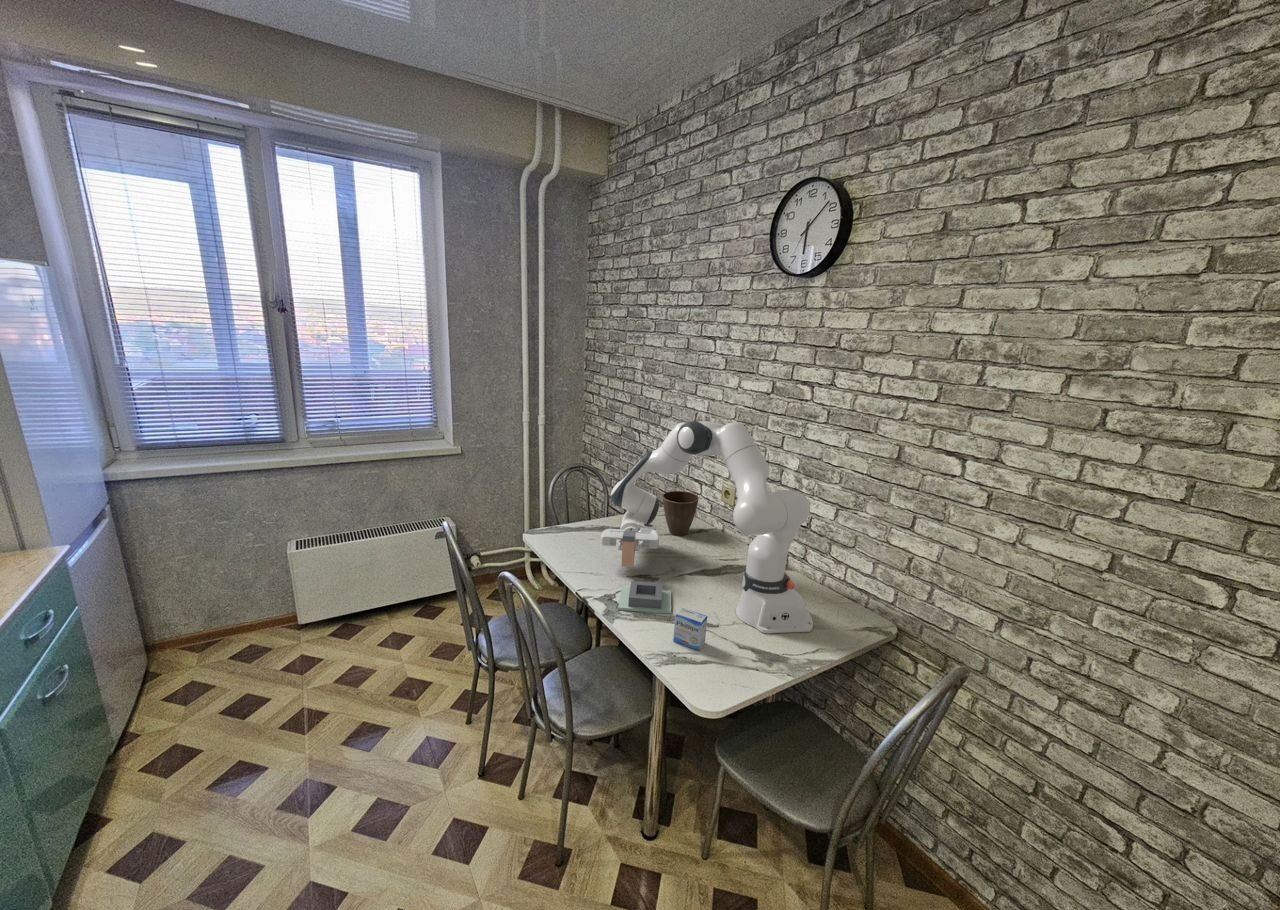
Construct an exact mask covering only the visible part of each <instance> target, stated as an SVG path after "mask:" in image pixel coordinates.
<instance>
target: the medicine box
mask: <svg viewBox="0 0 1280 910" xmlns="http://www.w3.org/2000/svg"><path fill="white" fill-rule="evenodd" d="M707 623H708V615H705V614H703V613H700V612H697V611H694V610H691V609H688V608H684V607H682V606H681V607H680V608H679V609H678V610H677V612H676V613H675V616H674V628H673V636H672V637H673V638H672V641H673V642H674V643H676V644H679V645H682V646H685V647H688V648H691V649H693V650H696V651H700V650H701V649H702V647H703V646H704V644H705V643H706V635H707V634H706V633H707V627H708V626H707Z"/></svg>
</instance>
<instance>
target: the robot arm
mask: <svg viewBox="0 0 1280 910" xmlns="http://www.w3.org/2000/svg"><path fill="white" fill-rule="evenodd" d="M693 455H695V456H696V455H698V456H699V455H700V456H709V457H711V456H718V455H719V456H720V457H721V458H722V460H723V462H724V464H725V466H726V468H727V470H728V472H729V474H730V476H731V478H732V481H733V483H734V485H735V488H736V493H737V494H736V495H737V500H736V504H735V506H734V509H733V511H732V512H733V514H732V519H733V523H734V525H735V527H736V528H737V530H738V531H739V532H740V533H742V534H743V535H745V536H755V537H754V539H753V540H752V541H751V542H750V543H749V546H748V549H747V557H746V558H747V559H746V565H745V566H746V567H745V568H744V571H743V576H742V590H741V595H740V599H739V601H738V604H737V606H736V608H735V614H736V616H737V618H739V619H740V621H742V622H743V623H745V624H747V625H748V626H751V627H753V628H755V629H757V630H758V631H759V632H761V633H763V634H783V633H785V634H787V633H806V632H807V633H809V632H811V631H812V630H813V628H814V622H813V618H812V615H811V614H810V612H809V611H808V609H807V608H806V604H805V601H804V599H803V597H802V596H801V594H800V593H799V592H797V591H796V590H795V588H796V587H795V583H794V581H792V580H791V578H790V576H789V575H788V574H787V572H786V564H787V559H788V553H789V550H790V548H791V545H792V542H793V541H794V538H795V537H796V535H797V533H798V531H799V529H800V528H801V526H802V524H804V522H805V521H806V520H807V519H808V517H809V516H810V513H811V505H810V501H809V499H808V497H807V496H806V495H805V494H804V493H802V492H801V491H798V490H792V489H791V490H789V489H788V490H787V489H784V490H779V491H774V492H771V491H770V490H769V488H768V485H767V479H768V477H769V475H770V473H771V467H770V466H769V464H768V462H767V461H766V459H765V457H764V456H763V454H762V452H761V450H760V448H759V446H758V445H757V443H756V442H755V440H754V439H753V437H752V436H751V434H750V433H749V432H748V431H747V430H746V428H745V427H744V426H743V425H742V424H740V423H739V422H730V423H724V422H721V423H720V422H713V421H710V420H709V421H706V420H705V421H704V420H703V421H698V420H697V421H696V420H692V421H687V422H685V421H684V422H679V423H677V424H676V425H675V426H674V427H672V429H671V430H670V432H669V433H668V434H667V436H665V438H664V440H663V442H662V444H661V445H660V446H659V447H657V448H656V449H655V450H650V451H646V452H645V453H643V455H642V456H641V457H640V458H639V459H638V460H637V461H636V462H635V463H634V465H633V466H632V467H631V468H630V469H629V471H627V473H626V474H625V475H623V477H622V479H620V480H619V481H618V482H617V483H616V484H614V486H613V488H612V490H611V492H610V499H611V502H612V505H613V506H616V507H618V508H621V509H623V510H625V511H626V512H625V513H624V515H623V516H622V519H621V524H620V527H619V528H605V529H604V530H603V531H602V533H601V535H600V544H601V545H602V546H605V547H607V546H608V547H616V548H617V550H618V551H622V544H623V533H624V531H629V532H636V537H635V549H634V551H635V552H640V551H639V550H641V549H650V550H651V549H654V550H655V549H659V547H660V536H659V532H658V531H657V528H656V525H655V524H652V523H653V521H654V520H655V518H656V517H657V515H658V512H659V509H660V502H659V501H660V500H659V498H658V496H657V495H655V494H652V493H651V492H649V491H647V490H645V489H642V488H641V487H639V486H637V485H635V483H636V481H637V480H638V479H639V478H640V477H641V476H642V475H643V474H645V473H657V474H658V473H659V474H663V475H674V474H677V473H681V471H683V470H684V469H685V467H686V466H687V465H688V463H689V462H690V460H691V458H692V456H693Z"/></svg>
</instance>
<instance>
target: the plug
mask: <svg viewBox="0 0 1280 910" xmlns="http://www.w3.org/2000/svg"><path fill="white" fill-rule="evenodd" d="M635 537H636V532H629V531H624V533H623V544H622V550H621V567H624V568H625V567H626V568H627V567H628V568H634V567H635V559H636V558H635V555H636V554H635V553H636V551H634V549H635Z"/></svg>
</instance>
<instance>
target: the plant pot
mask: <svg viewBox="0 0 1280 910" xmlns="http://www.w3.org/2000/svg"><path fill="white" fill-rule="evenodd" d="M662 504H663V505H662V506H663V512H664V516H665V521H666V524H667V528H668V531H669V533H670V534H671V535H673V536H677V537H683V536H686V535H688V532H689V531H690V529H691V526H692V524H693V521H694V518H695V516H696V511H697V508H698V504H699V496H698V495H697V494H695V493H693V492H688V491H684V490H683V491H682V490H674V491H672V490H671V491H668V492H664V493H663V494H662Z"/></svg>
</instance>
